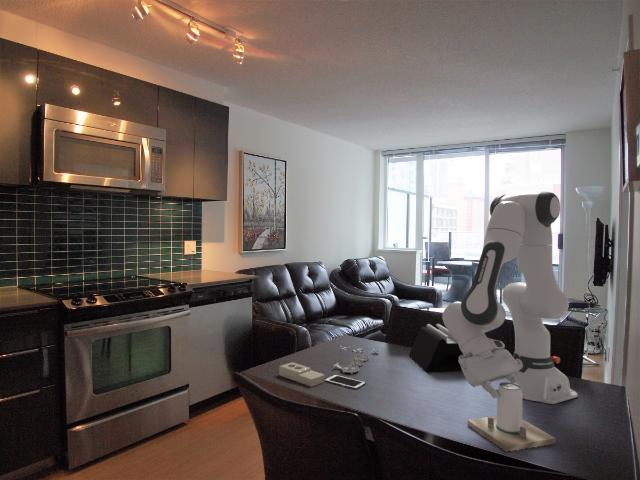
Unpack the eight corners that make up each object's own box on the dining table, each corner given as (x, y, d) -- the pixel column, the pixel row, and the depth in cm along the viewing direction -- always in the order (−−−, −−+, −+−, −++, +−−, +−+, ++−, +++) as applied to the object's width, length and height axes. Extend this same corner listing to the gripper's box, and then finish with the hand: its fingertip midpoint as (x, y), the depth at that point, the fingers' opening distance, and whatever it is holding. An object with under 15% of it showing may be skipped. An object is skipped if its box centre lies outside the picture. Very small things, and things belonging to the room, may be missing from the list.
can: (496, 430, 117) (497, 387, 117) (496, 420, 123) (497, 380, 123) (522, 435, 114) (523, 391, 114) (521, 425, 120) (522, 383, 120)
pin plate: (511, 418, 129) (512, 405, 129) (555, 443, 113) (555, 429, 113) (467, 424, 124) (467, 411, 124) (506, 452, 109) (506, 437, 109)
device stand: (456, 355, 195) (456, 323, 194) (479, 371, 172) (479, 335, 172) (409, 356, 192) (409, 324, 192) (426, 373, 170) (426, 336, 170)
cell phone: (334, 376, 166) (334, 374, 166) (367, 384, 157) (367, 382, 157) (323, 382, 159) (323, 379, 159) (356, 391, 151) (356, 388, 151)
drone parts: (304, 368, 177) (304, 361, 177) (339, 349, 208) (338, 342, 208) (355, 375, 166) (354, 367, 166) (383, 354, 197) (383, 347, 197)
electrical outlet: (311, 376, 153) (279, 365, 166) (311, 387, 153) (278, 376, 166) (325, 372, 159) (292, 361, 171) (324, 382, 159) (292, 371, 171)
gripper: (462, 350, 120) (491, 396, 112) (505, 340, 131) (535, 381, 123) (449, 362, 124) (477, 406, 116) (492, 351, 135) (521, 391, 127)
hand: (507, 393), depth 119 cm, fingers open, 8 cm apart
